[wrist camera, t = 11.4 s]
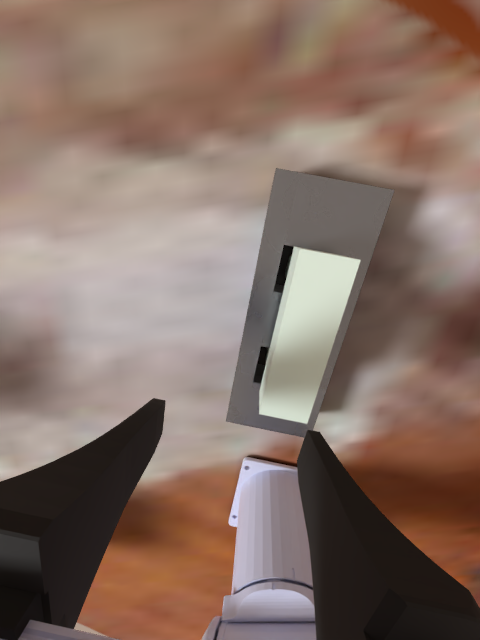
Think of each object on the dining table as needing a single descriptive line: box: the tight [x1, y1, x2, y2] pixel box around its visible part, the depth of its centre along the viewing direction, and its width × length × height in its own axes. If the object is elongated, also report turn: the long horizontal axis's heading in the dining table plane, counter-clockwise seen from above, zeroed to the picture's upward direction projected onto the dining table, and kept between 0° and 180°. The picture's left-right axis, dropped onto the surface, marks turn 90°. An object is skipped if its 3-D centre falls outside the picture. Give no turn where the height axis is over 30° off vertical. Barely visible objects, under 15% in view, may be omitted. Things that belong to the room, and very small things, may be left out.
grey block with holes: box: [226, 168, 394, 438], centre depth 19 cm, size 18×7×3 cm, turn 170°
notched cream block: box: [259, 246, 361, 424], centre depth 17 cm, size 10×3×6 cm, turn 170°
